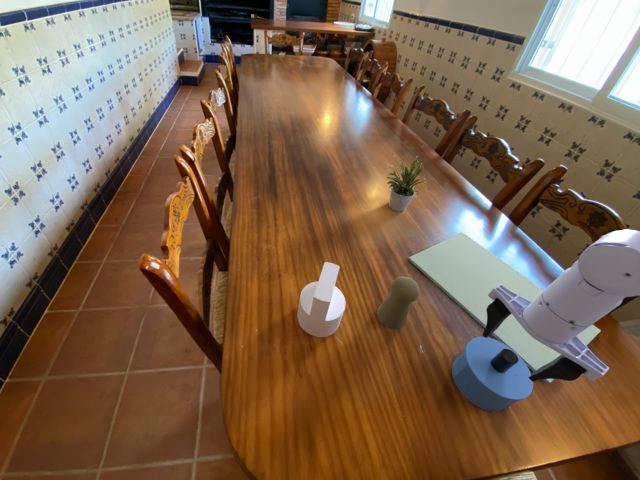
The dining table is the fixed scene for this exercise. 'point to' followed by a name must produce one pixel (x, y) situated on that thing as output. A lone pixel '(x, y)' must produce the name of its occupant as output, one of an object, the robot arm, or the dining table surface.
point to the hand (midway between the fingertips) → (509, 354)
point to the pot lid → (498, 368)
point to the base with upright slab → (322, 304)
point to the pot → (476, 388)
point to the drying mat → (487, 292)
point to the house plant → (403, 185)
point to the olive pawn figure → (398, 302)
